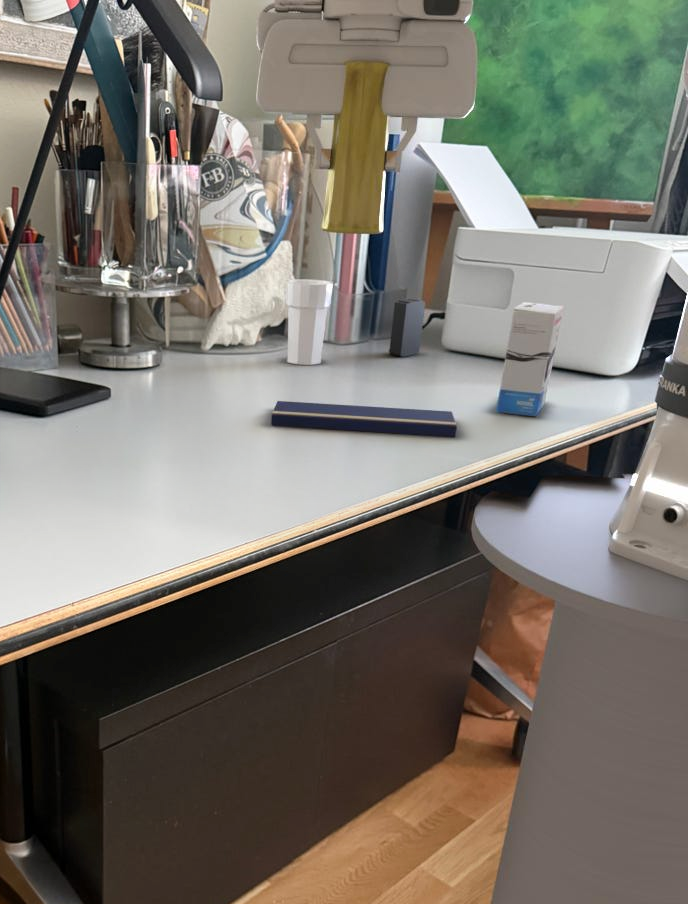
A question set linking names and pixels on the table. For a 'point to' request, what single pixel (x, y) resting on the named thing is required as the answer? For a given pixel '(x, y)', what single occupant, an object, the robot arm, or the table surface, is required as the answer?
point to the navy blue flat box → (364, 418)
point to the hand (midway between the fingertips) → (357, 170)
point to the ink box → (529, 358)
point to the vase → (358, 154)
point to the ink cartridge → (407, 327)
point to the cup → (307, 319)
